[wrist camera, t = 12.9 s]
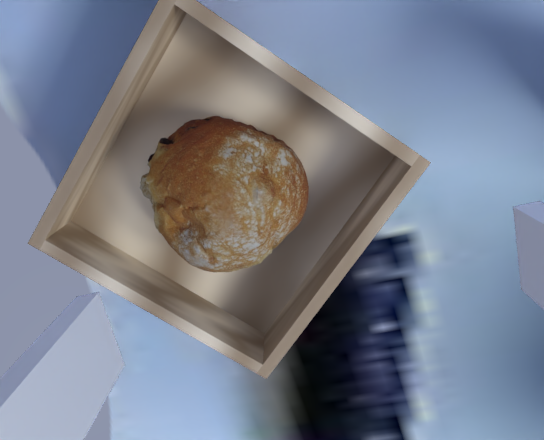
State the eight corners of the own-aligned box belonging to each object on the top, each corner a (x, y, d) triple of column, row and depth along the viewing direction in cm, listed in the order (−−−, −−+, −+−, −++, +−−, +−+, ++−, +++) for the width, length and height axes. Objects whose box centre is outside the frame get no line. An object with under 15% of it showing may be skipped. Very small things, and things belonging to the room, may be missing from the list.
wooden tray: (408, 149, 33) (430, 162, 29) (267, 340, 38) (266, 379, 33) (185, -5, 31) (168, -19, 26) (61, 219, 35) (27, 243, 30)
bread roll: (229, 251, 38) (262, 319, 32) (108, 197, 33) (119, 268, 26) (305, 149, 36) (358, 200, 30) (189, 71, 30) (223, 115, 24)
